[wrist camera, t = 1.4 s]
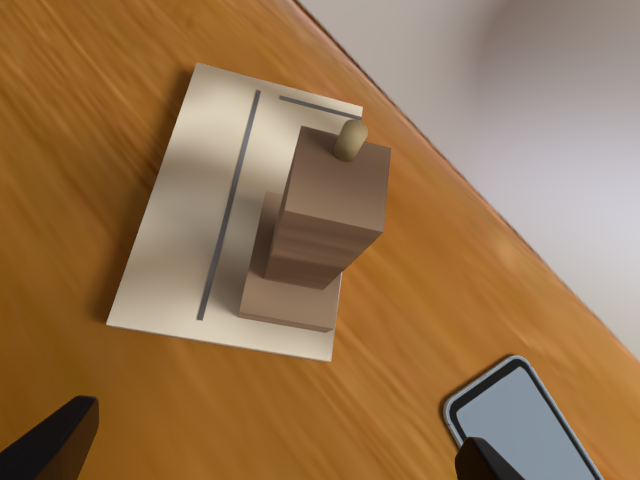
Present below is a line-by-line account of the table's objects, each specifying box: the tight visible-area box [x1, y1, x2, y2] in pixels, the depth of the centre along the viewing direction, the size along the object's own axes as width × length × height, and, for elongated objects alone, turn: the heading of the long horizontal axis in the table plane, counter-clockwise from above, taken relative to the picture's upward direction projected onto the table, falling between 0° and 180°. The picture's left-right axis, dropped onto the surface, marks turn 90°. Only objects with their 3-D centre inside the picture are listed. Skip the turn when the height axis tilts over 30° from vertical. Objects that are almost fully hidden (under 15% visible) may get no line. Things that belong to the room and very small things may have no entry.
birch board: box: [106, 63, 363, 362], centre depth 24 cm, size 18×12×2 cm, turn 172°
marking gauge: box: [239, 119, 391, 333], centre depth 17 cm, size 7×5×12 cm
